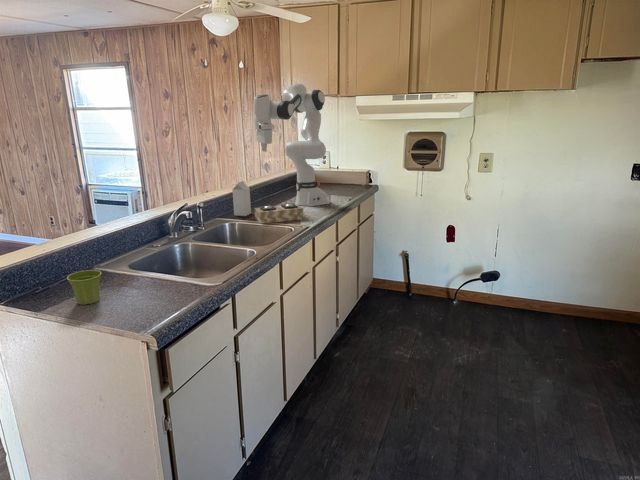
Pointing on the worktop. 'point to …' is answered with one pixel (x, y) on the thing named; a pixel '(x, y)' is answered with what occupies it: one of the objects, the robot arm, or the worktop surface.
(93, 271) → the plant pot
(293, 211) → the block
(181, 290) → the worktop surface
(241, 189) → the milk carton
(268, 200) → the worktop surface
